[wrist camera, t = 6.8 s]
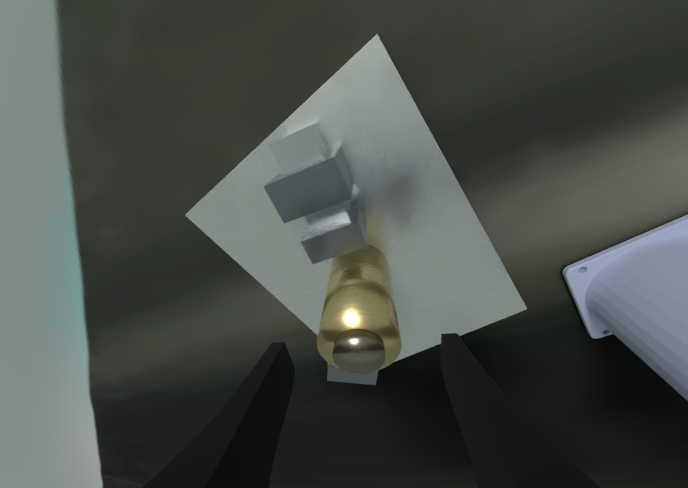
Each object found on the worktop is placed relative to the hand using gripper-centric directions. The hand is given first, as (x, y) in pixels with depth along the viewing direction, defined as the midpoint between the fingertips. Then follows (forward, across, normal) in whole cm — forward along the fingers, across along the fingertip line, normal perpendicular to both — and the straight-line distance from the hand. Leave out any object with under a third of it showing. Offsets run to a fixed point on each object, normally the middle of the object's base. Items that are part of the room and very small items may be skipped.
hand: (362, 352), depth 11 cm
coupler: (+7, 0, 0) cm, 7 cm away
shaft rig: (+7, 0, 0) cm, 7 cm away
